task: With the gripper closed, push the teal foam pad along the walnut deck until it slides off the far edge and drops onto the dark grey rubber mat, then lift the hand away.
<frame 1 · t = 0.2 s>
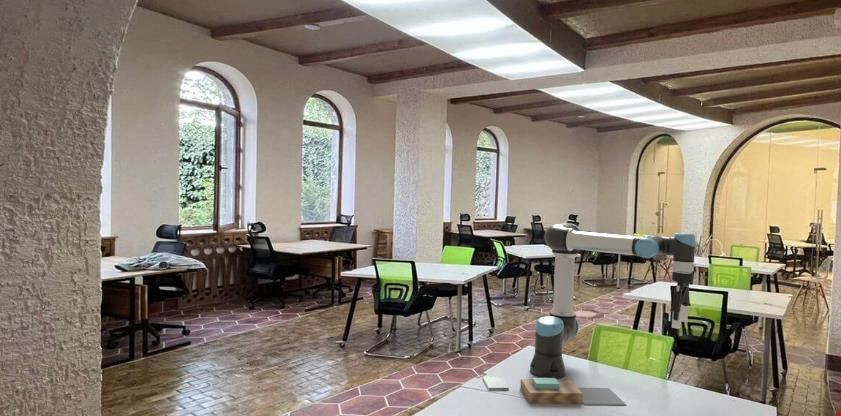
hand: (679, 324, 211), 28 cm above the table, fingers open, 13 cm apart
mat: (597, 396, 207), on the table
deck: (550, 396, 206), on the table
teal foam pad: (545, 385, 205), point 4 cm above the table, touching deck
hard drive: (495, 386, 216), on the table
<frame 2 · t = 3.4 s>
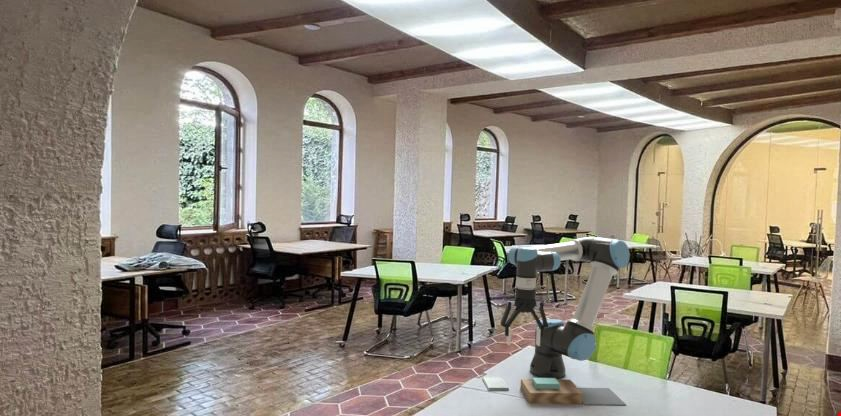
hand: (523, 344, 204), 20 cm above the table, fingers open, 11 cm apart
nothing on the table moved.
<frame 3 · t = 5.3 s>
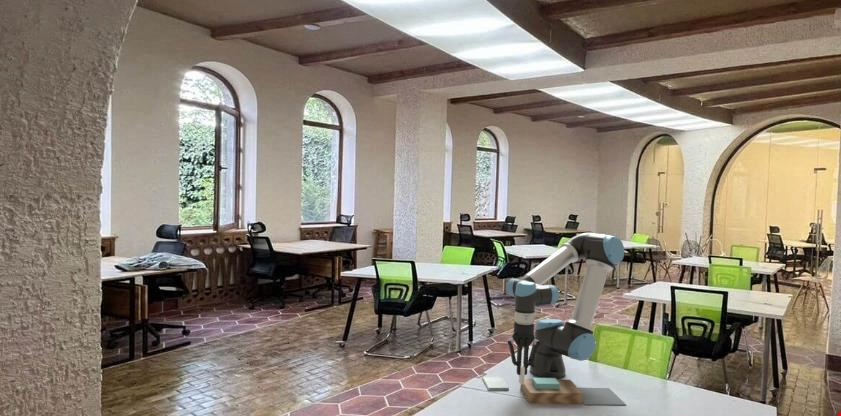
hand: (521, 382, 205), 5 cm above the table, fingers closed
nothing on the table moved.
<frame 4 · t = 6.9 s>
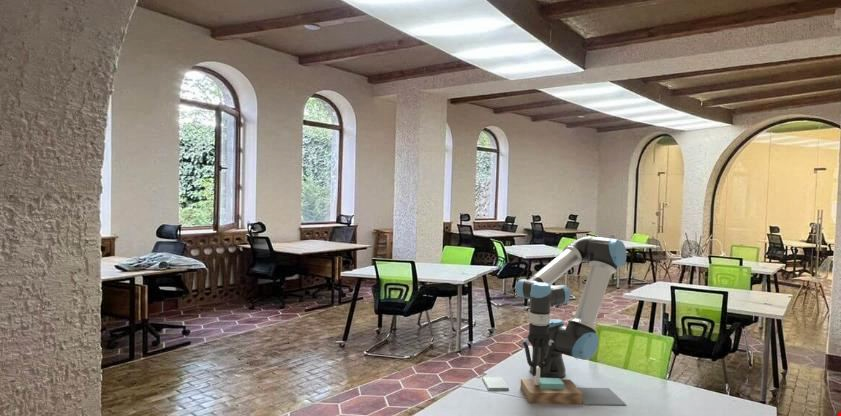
hand: (536, 383, 205), 5 cm above the table, fingers closed
teal foam pad: (550, 385, 205), point 4 cm above the table, touching gripper
everything else where it was.
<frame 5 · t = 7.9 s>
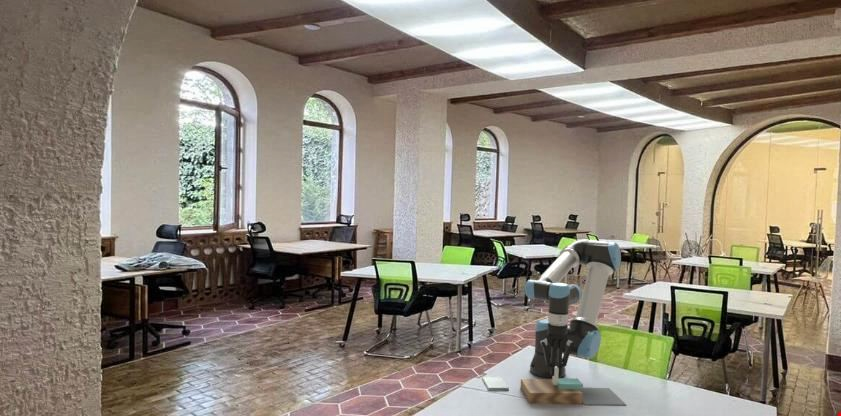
hand: (555, 383, 205), 5 cm above the table, fingers closed
teal foam pad: (568, 386, 206), point 4 cm above the table, touching deck
everything else where it was.
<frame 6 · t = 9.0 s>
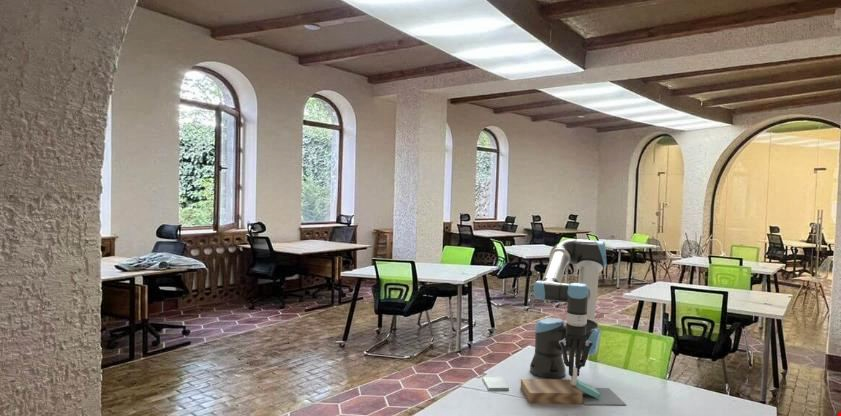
hand: (573, 383, 206), 5 cm above the table, fingers closed
teal foam pad: (585, 390, 206), point 2 cm above the table, tilted 25°, touching gripper
everything else where it was.
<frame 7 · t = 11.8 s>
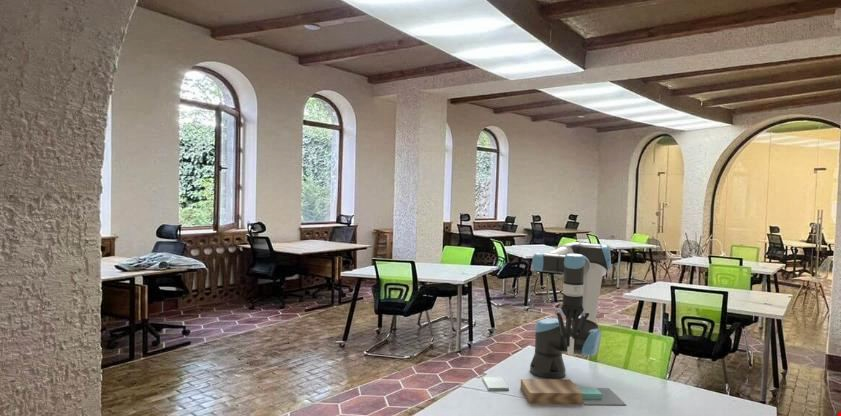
hand: (570, 354, 206), 16 cm above the table, fingers closed
teal foam pad: (587, 395, 206), resting on mat
everything else where it was.
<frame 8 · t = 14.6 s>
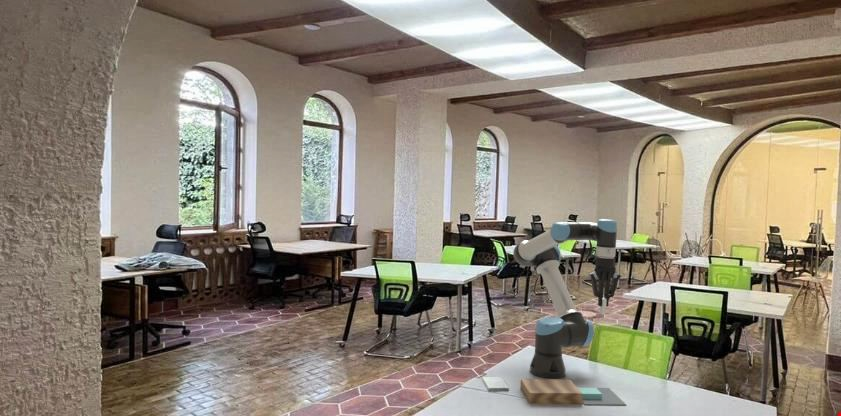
hand: (602, 313, 219), 29 cm above the table, fingers closed
nothing on the table moved.
at the end: teal foam pad resting on mat; teal foam pad 3.9 cm from the mat (horizontally) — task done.
